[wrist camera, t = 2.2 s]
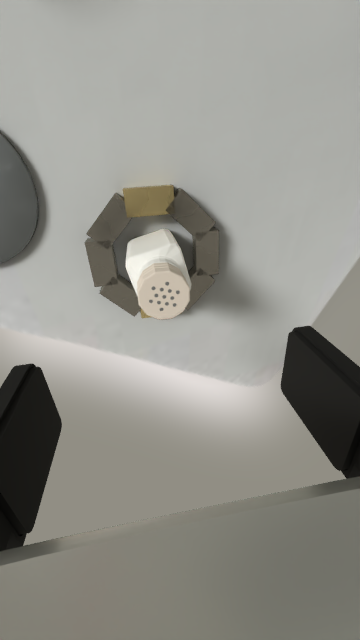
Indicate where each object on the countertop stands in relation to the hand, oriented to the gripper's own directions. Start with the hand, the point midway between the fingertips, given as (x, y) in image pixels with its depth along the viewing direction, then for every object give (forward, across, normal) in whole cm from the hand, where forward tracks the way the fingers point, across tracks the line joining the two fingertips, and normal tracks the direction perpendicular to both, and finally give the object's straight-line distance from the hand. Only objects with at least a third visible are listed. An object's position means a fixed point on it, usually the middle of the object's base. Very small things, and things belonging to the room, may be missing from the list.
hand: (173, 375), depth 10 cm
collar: (+16, 0, 0) cm, 16 cm away
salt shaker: (+16, 0, 0) cm, 16 cm away
